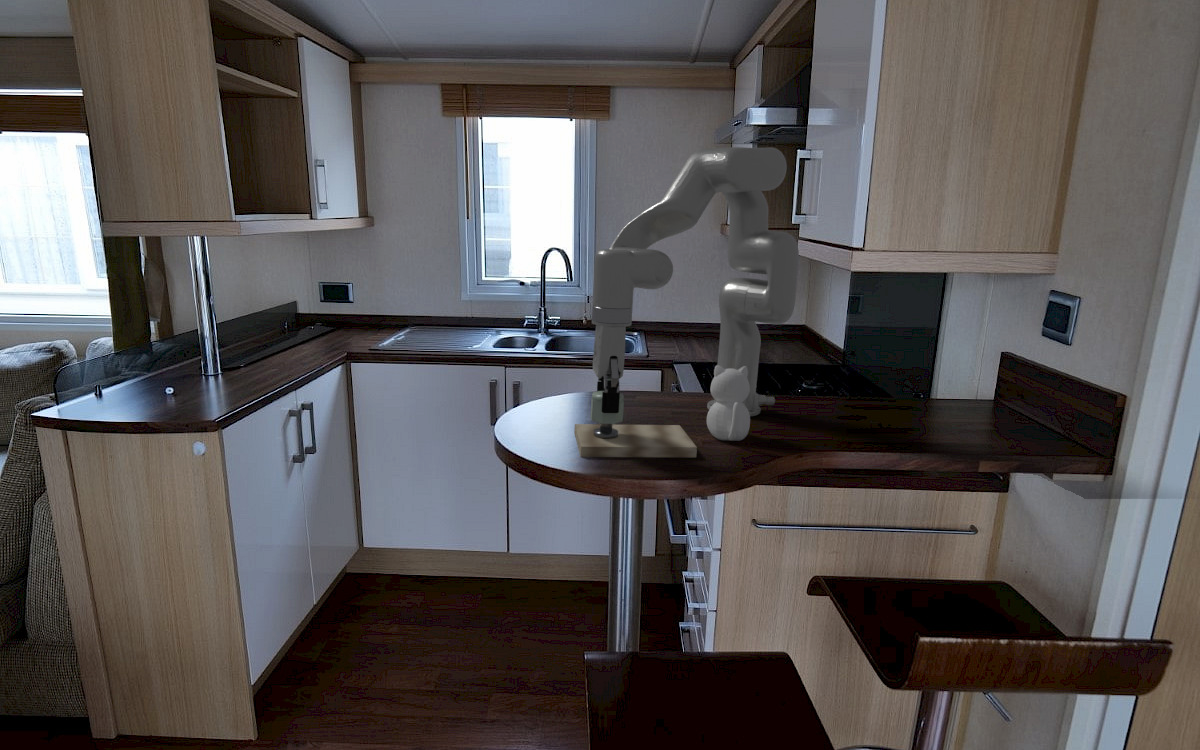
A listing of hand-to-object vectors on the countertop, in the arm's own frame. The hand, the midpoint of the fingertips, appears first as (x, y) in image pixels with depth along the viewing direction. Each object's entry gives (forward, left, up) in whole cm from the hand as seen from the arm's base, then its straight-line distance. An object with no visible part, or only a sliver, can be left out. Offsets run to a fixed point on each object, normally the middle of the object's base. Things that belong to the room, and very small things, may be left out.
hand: (607, 406), depth 128 cm
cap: (0, 0, -3) cm, 3 cm away
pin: (0, 0, -6) cm, 6 cm away
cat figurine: (-26, -5, -8) cm, 28 cm away
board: (-5, 0, -8) cm, 10 cm away
